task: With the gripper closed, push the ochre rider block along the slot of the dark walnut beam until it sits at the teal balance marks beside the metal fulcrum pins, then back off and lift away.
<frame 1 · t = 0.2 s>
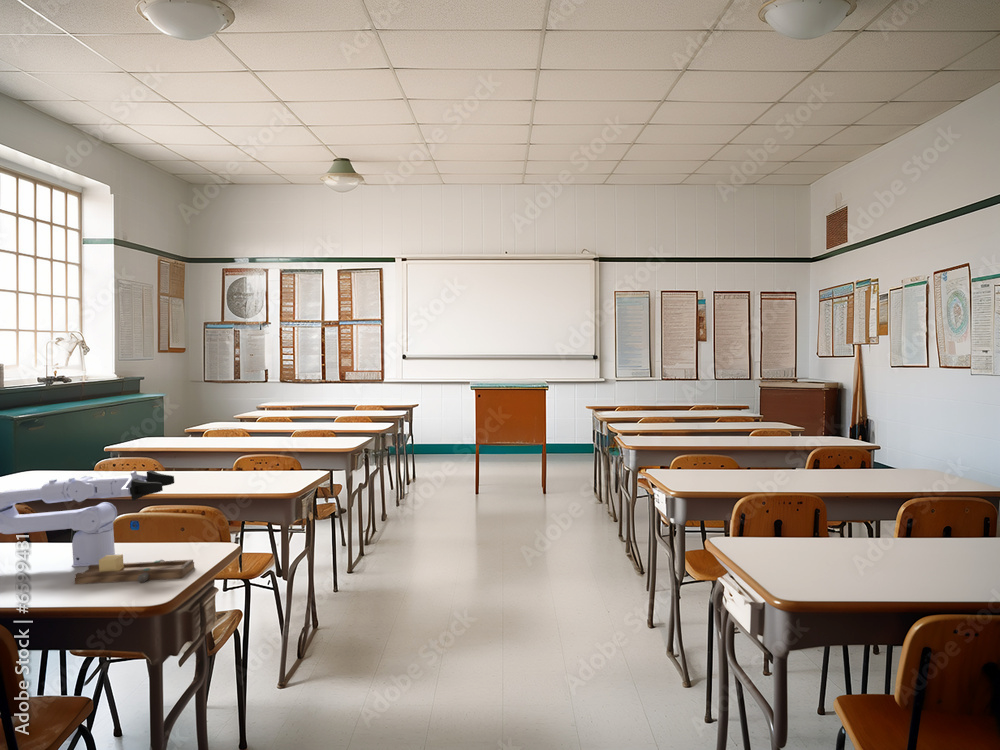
hand: (167, 483, 182), 21 cm above the table, tool horizontal, fingers open, 7 cm apart
rider: (111, 563, 168), point 3 cm above the table, slide at 0.0 cm
balance beam: (136, 575, 169), on the table
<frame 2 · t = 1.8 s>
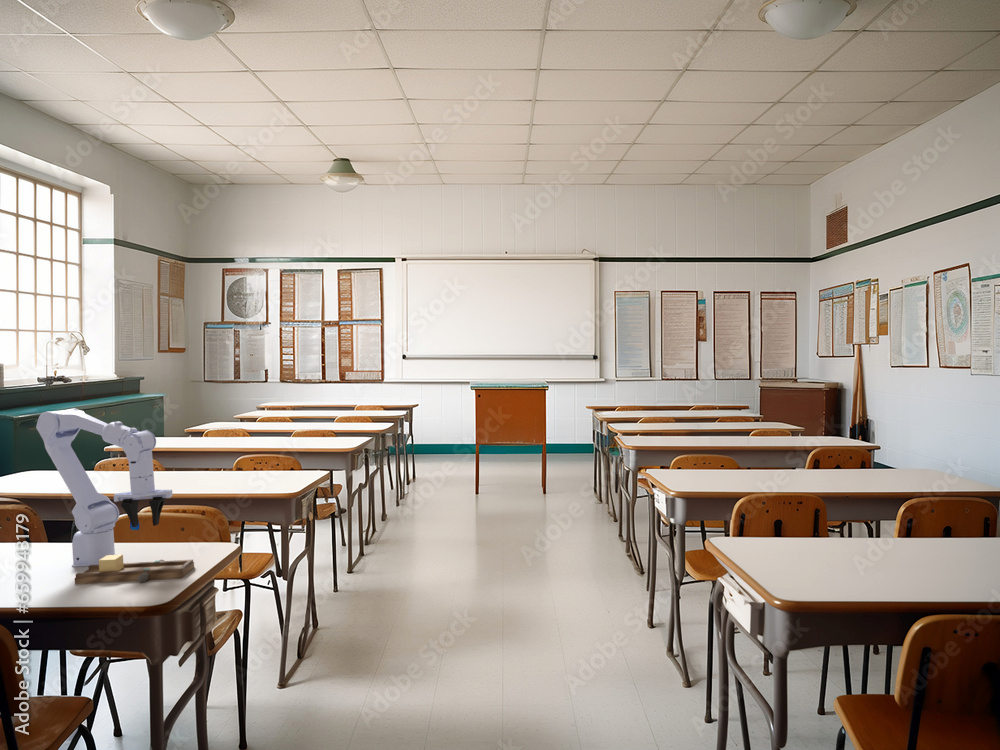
hand: (145, 525, 178), 10 cm above the table, tool pointing down, fingers open, 5 cm apart
nothing on the table moved.
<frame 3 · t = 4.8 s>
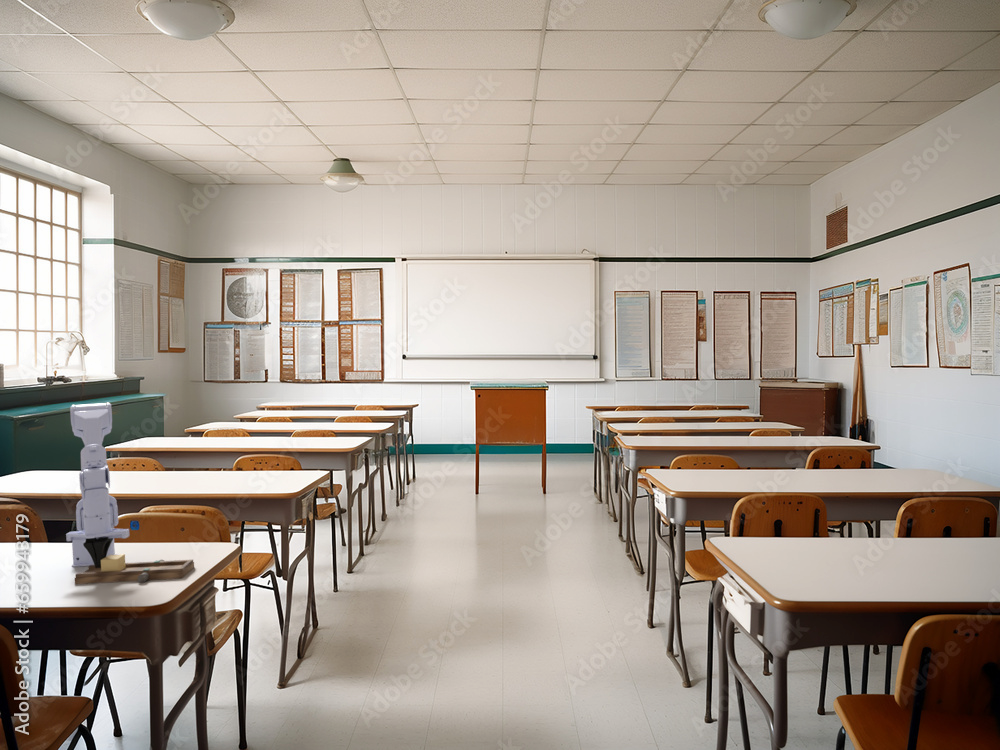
hand: (99, 566, 168), 3 cm above the table, tool pointing down, fingers closed
rider: (113, 563, 168), point 3 cm above the table, slide at 0.5 cm, touching gripper
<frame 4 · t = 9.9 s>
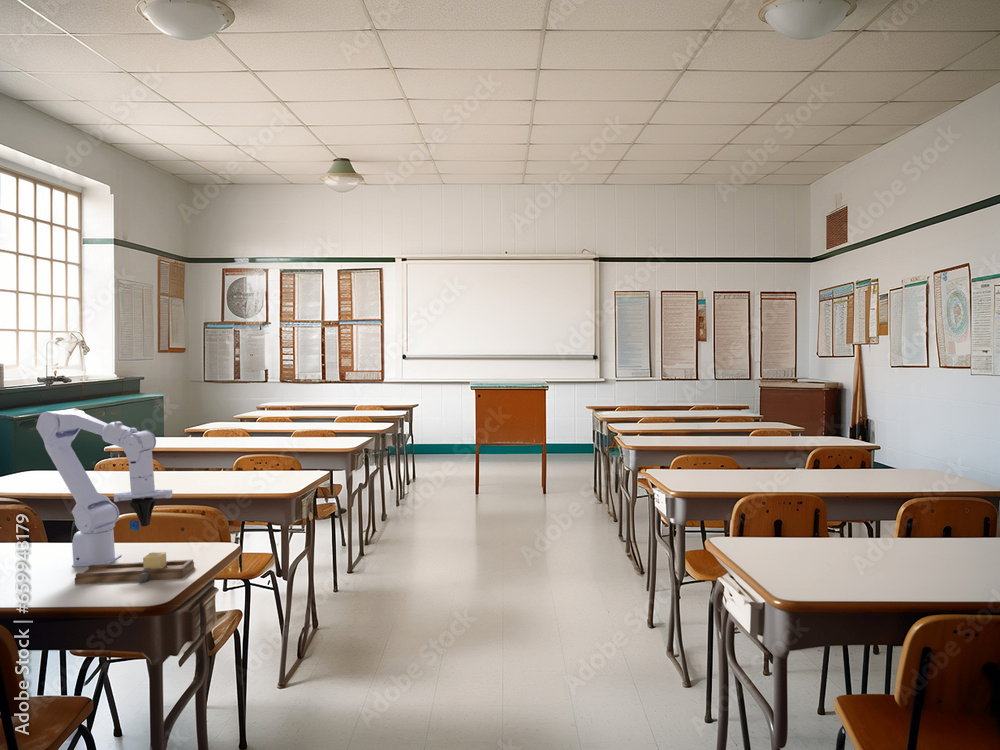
hand: (145, 525, 178), 10 cm above the table, tool pointing down, fingers closed
rider: (154, 561, 169), point 3 cm above the table, slide at 10.8 cm
at the end: rider slide at 10.8 cm; the gripper is holding nothing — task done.
